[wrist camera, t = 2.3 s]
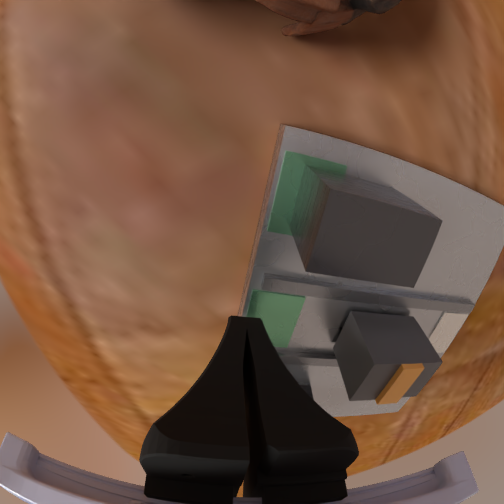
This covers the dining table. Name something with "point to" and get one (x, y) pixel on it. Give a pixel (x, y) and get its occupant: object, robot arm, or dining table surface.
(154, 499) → the robot arm
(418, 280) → the panel
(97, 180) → the dining table surface
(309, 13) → the pottery mug
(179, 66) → the dining table surface
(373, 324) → the breaker
